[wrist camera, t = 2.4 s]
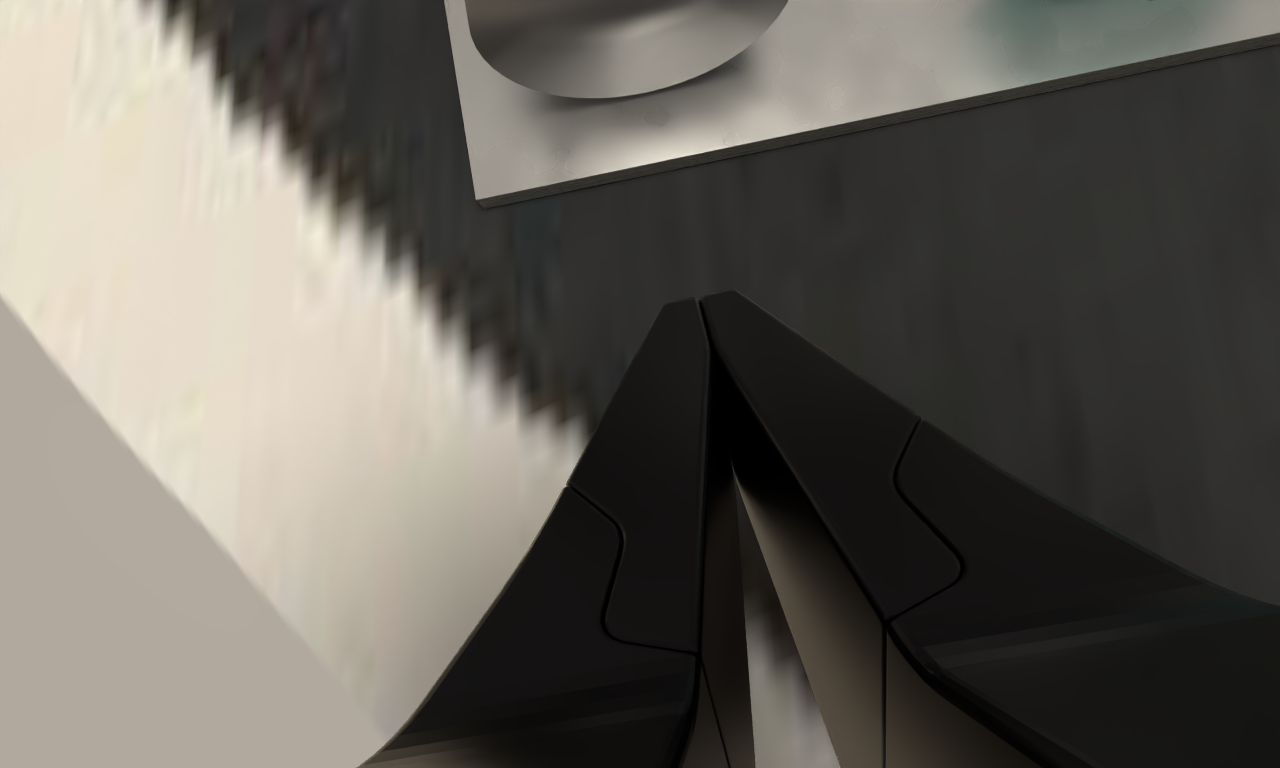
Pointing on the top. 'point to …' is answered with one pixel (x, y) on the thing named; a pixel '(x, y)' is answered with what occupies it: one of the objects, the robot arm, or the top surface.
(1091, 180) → the top surface
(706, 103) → the mount
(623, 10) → the dark grey rounded piece
